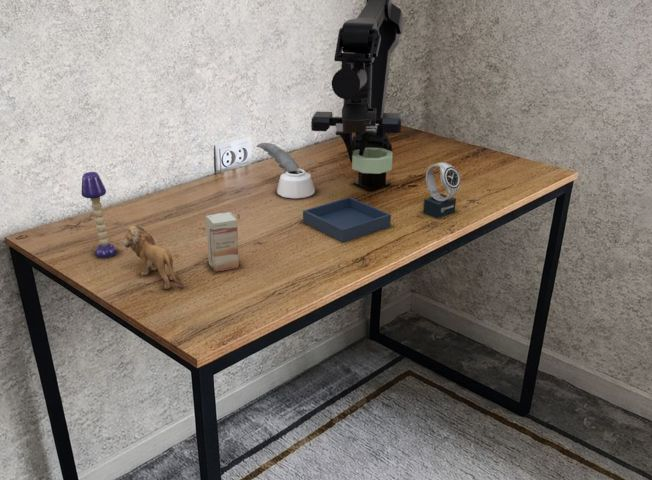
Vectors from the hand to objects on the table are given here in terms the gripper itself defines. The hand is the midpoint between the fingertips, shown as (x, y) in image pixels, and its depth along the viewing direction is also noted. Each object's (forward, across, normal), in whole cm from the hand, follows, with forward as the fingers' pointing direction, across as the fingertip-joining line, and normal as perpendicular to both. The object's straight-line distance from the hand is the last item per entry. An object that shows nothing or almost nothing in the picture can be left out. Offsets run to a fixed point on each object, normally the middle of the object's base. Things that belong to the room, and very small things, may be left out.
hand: (355, 162), depth 167 cm
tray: (+11, -1, -8) cm, 14 cm away
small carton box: (+12, -23, -31) cm, 40 cm away
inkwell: (+11, -18, +13) cm, 25 cm away
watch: (+11, +19, +1) cm, 22 cm away
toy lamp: (+12, -48, -28) cm, 57 cm away
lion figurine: (+12, -35, -37) cm, 52 cm away
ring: (+1, +4, 0) cm, 4 cm away
